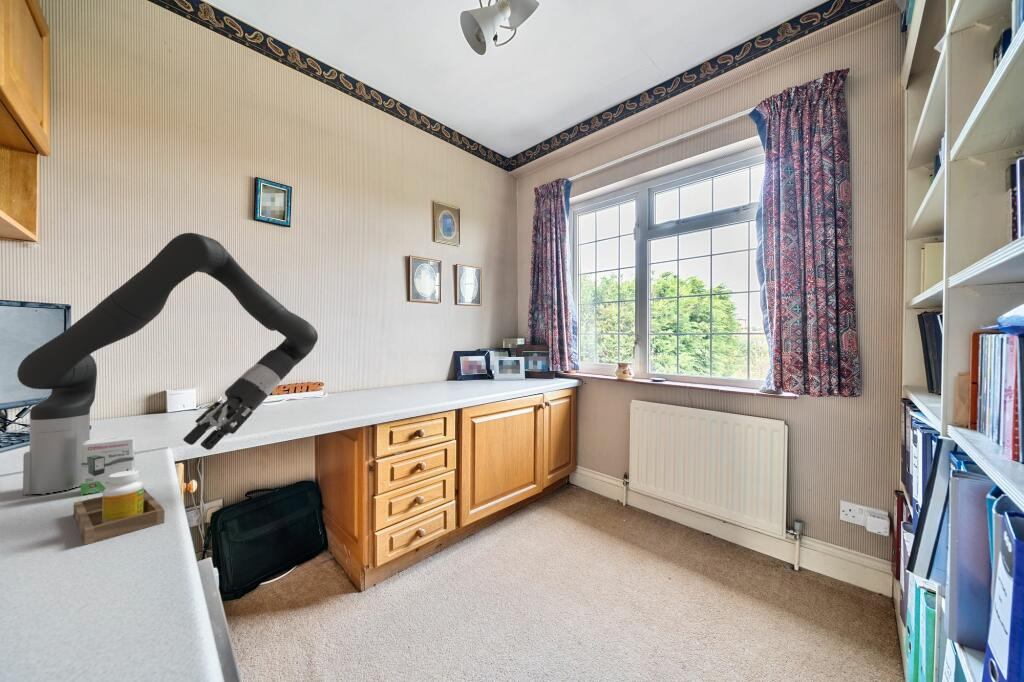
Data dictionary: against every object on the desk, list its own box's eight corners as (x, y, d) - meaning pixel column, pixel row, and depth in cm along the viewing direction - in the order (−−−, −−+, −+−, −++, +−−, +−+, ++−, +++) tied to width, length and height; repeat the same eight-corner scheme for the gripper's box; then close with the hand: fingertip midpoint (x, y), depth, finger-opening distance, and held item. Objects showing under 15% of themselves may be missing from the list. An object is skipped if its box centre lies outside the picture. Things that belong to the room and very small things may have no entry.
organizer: (73, 514, 75) (73, 502, 75) (142, 498, 83) (142, 487, 83) (85, 544, 63) (85, 530, 63) (164, 522, 71) (164, 509, 71)
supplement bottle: (143, 524, 71) (144, 472, 71) (101, 535, 67) (102, 480, 67) (142, 515, 74) (143, 466, 75) (102, 525, 70) (103, 473, 71)
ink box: (79, 496, 84) (79, 444, 85) (82, 490, 88) (83, 440, 88) (133, 486, 90) (133, 437, 91) (134, 481, 94) (134, 434, 94)
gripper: (227, 375, 92) (166, 431, 82) (257, 377, 85) (195, 439, 74) (250, 394, 96) (195, 450, 86) (281, 398, 89) (225, 459, 79)
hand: (195, 445), depth 80 cm, fingers open, 8 cm apart
